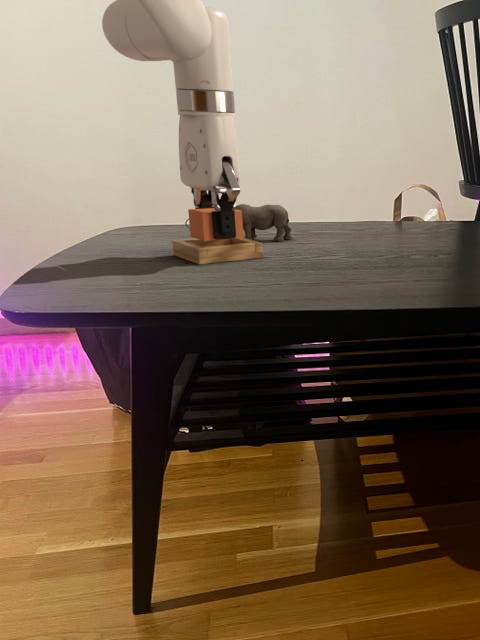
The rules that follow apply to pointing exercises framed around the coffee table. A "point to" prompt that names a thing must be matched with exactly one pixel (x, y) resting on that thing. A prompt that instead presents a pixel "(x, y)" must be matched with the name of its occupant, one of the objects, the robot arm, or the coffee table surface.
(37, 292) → the coffee table surface
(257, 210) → the rhino figurine
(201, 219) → the block
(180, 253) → the shallow wooden tray
